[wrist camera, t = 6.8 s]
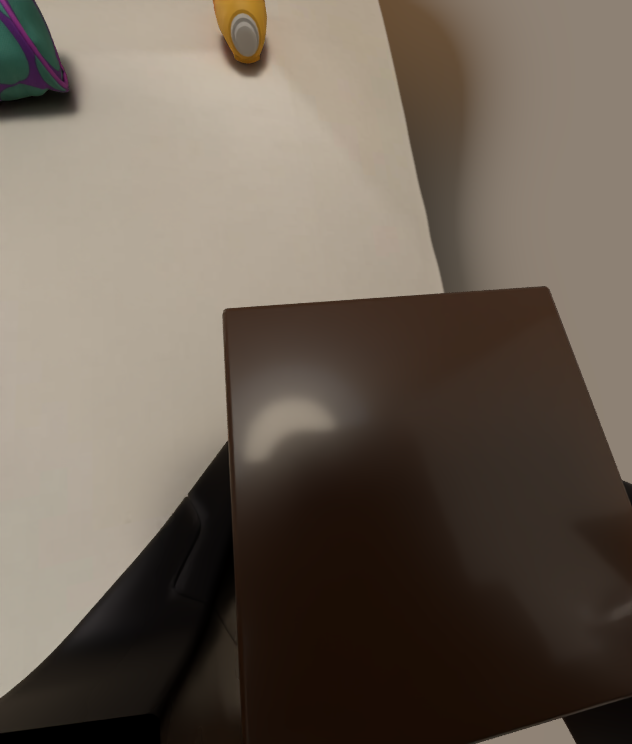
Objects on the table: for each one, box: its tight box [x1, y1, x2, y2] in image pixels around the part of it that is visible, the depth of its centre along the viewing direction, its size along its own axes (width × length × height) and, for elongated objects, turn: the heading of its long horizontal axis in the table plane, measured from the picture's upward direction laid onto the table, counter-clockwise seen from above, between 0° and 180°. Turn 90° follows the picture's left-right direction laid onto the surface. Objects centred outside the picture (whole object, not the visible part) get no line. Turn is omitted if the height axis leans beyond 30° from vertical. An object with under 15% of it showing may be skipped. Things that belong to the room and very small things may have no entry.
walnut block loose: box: [222, 286, 632, 744], centre depth 9 cm, size 4×4×12 cm
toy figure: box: [213, 0, 267, 63], centre depth 27 cm, size 5×6×12 cm
